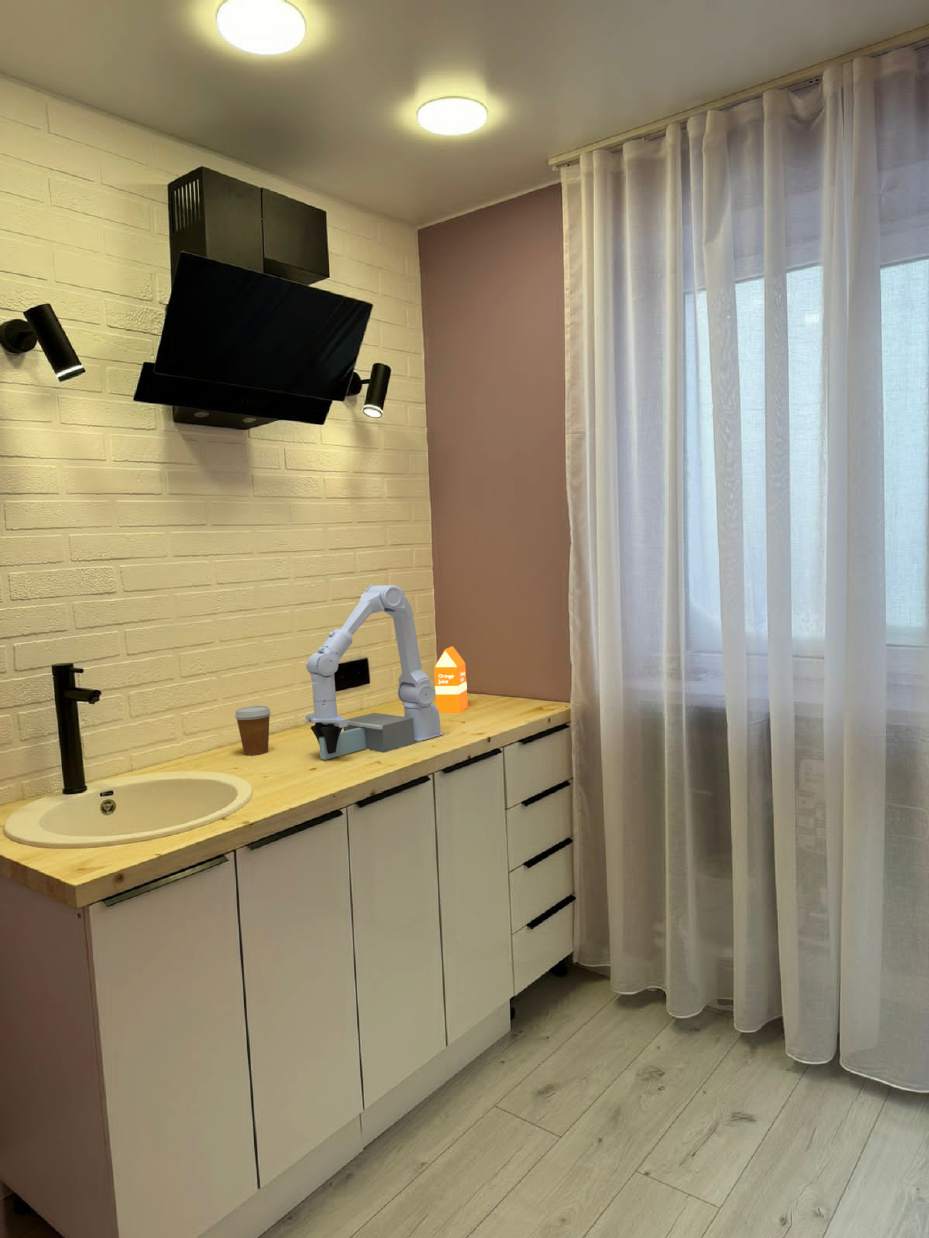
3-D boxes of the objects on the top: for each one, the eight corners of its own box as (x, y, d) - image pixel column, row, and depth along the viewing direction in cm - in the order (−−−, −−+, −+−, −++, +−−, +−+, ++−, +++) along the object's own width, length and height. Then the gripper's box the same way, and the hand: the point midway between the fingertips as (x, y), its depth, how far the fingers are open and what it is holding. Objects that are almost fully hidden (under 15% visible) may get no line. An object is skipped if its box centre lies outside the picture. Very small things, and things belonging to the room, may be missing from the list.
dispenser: (375, 737, 244) (373, 712, 244) (415, 743, 233) (413, 717, 233) (342, 746, 236) (340, 720, 235) (382, 753, 225) (380, 726, 224)
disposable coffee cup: (238, 758, 229) (234, 713, 228) (237, 751, 238) (233, 707, 237) (275, 754, 231) (271, 709, 230) (273, 746, 241) (269, 704, 240)
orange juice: (436, 713, 274) (432, 650, 272) (445, 707, 282) (441, 646, 281) (460, 713, 272) (456, 649, 270) (468, 707, 280) (464, 645, 278)
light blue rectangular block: (362, 746, 232) (361, 726, 231) (367, 747, 231) (366, 727, 230) (320, 758, 222) (318, 737, 221) (325, 759, 220) (323, 738, 220)
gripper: (294, 700, 223) (298, 752, 225) (329, 704, 213) (334, 759, 215) (316, 695, 228) (320, 746, 230) (352, 699, 219) (356, 753, 220)
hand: (328, 752), depth 222 cm, fingers closed on light blue rectangular block, 2 cm apart
